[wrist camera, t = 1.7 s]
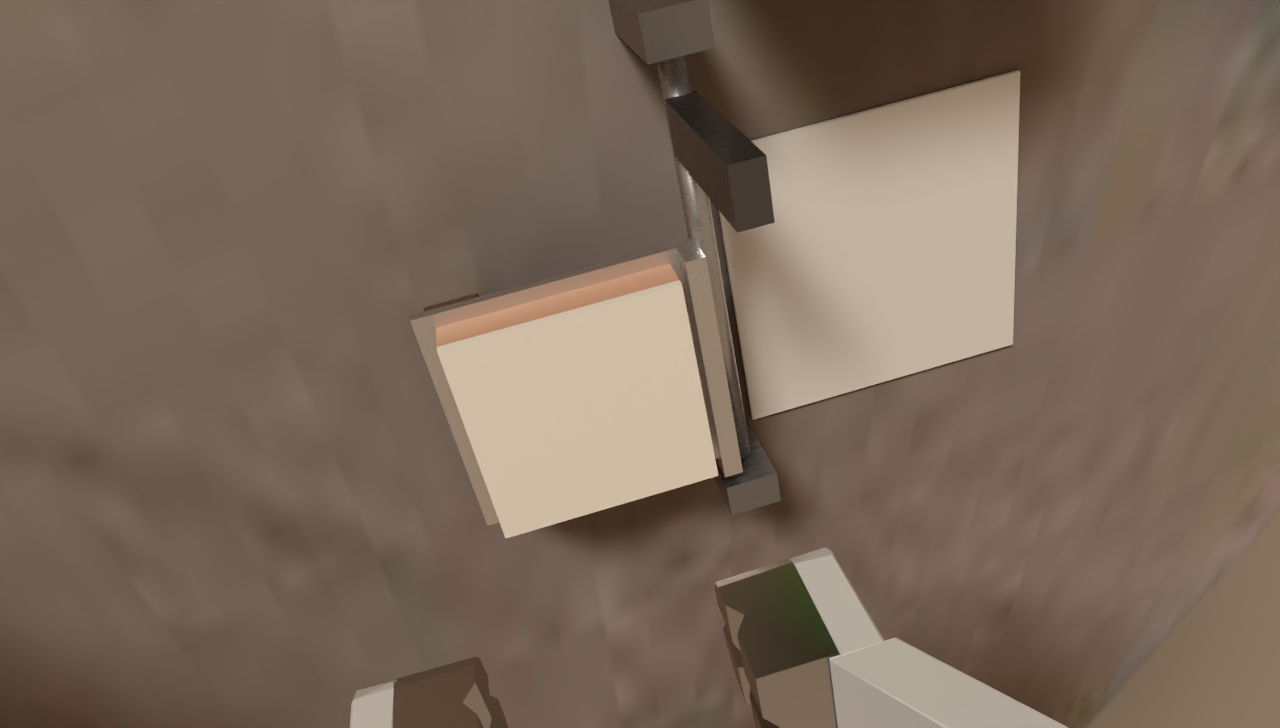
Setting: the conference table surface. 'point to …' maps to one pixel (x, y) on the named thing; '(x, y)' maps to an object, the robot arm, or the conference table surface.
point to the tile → (581, 399)
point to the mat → (880, 245)
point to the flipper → (706, 169)
